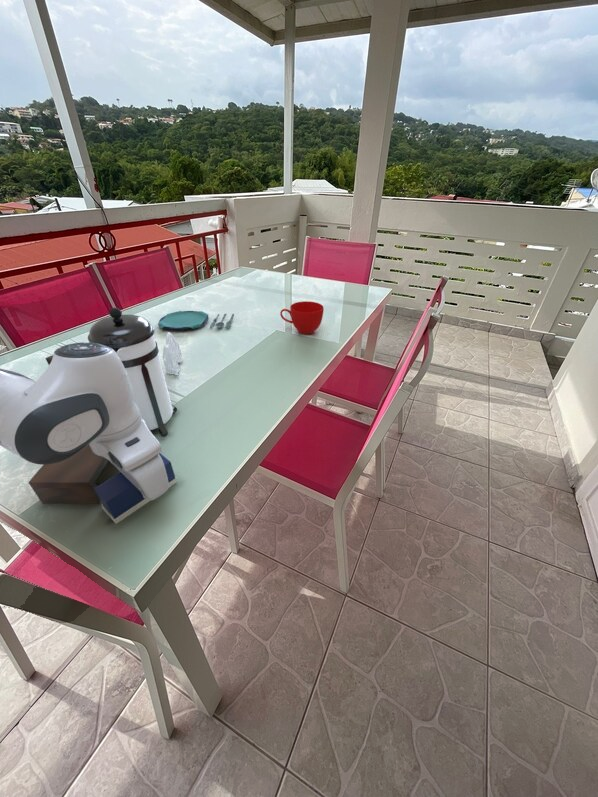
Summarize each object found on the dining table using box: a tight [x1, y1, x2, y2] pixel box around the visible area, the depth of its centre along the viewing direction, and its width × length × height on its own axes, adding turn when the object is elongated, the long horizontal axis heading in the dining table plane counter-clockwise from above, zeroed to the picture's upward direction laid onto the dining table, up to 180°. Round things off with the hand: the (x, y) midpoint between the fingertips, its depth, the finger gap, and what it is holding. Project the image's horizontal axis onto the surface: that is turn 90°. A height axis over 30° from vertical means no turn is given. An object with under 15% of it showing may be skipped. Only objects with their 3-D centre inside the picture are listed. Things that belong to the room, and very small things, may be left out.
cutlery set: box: [157, 310, 235, 330], centre depth 138 cm, size 20×30×2 cm, turn 89°
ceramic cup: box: [279, 300, 325, 335], centre depth 130 cm, size 13×17×10 cm
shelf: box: [28, 444, 110, 504], centre depth 69 cm, size 11×16×6 cm
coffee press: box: [87, 307, 178, 437], centre depth 77 cm, size 17×16×30 cm
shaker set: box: [162, 332, 183, 377], centre depth 105 cm, size 12×4×11 cm, turn 8°
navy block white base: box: [94, 452, 179, 525], centre depth 64 cm, size 13×5×6 cm, turn 141°
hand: (138, 486), depth 64 cm, fingers closed on navy block white base, 5 cm apart
